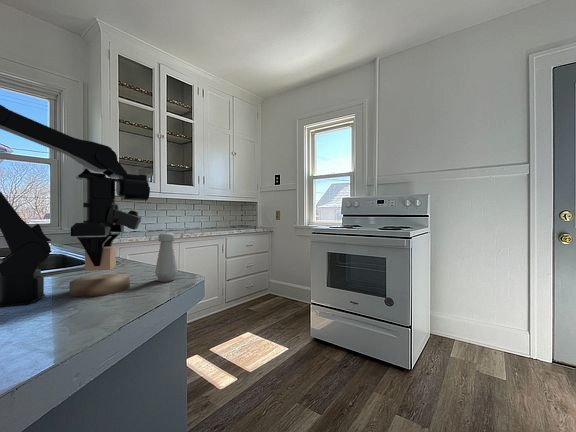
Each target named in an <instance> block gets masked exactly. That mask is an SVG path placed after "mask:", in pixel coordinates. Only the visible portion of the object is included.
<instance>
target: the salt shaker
mask: <svg viewBox="0 0 576 432" xmlns="http://www.w3.org/2000/svg"><path fill="white" fill-rule="evenodd" d="M157 239H158V240H157V241H158V242H160V243H159V250H158V255H157V260H156V266H155V271H154V273H155V276H156V278H157V280H158V281H159V282H172V280H173V281H174V280H175V279H176V276H177V274H178V273H179V270H178V266H177V265H178V264H177V259H176V253H175V248H174V247H175V246H174V241H176V236H175V234H174V233H173V232H162V233H159V234H158V237H157Z"/></svg>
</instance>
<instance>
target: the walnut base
mask: <svg viewBox="0 0 576 432" xmlns="http://www.w3.org/2000/svg"><path fill="white" fill-rule="evenodd" d="M130 279H131V276H130V275H129V274H124V273H123V274H122V273H110V274H109V273H108V274H98V275H90V276H84V277H83V276H82V277H80V278H79V277H78V278H76V279H73V280H70V281H69V295H70V296H73V297H84V298H85V297H97V296H107V295H111V294H115V293H121V292H123V291H126V290H128V289H130V288H131V287H130V286H131V284H130V283H131V280H130Z"/></svg>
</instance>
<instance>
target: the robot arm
mask: <svg viewBox="0 0 576 432" xmlns="http://www.w3.org/2000/svg"><path fill="white" fill-rule="evenodd" d="M0 130H2V131H5V132H8V133H10V134H13V135H15V136H18V137H20V138H23V139H25V140H28V141H30V142H33V143H36V144H38V145H41V146H43V147H45V148H48V149H51V150H54V151H55V152H58V153H60V154H61V153H62V154H64V155H66V156H67V157H68V158H71V159H72V160H74V161H75V162H77V163H78V164H80V165H81V166H83V167H85V168H84V169H83V170H82V172H81V173H79V174H78V175H76V176H75V178H76V179H77V180H85V181H86V202H83V203H82V205H83V208H85V209H86V210H85V211H86V213H85V214H86V216H85V217H86V218H85V219H86V220H83V221H82V222H76V223H74V224H73V225H71V226H70V237H77V240H79V242H80V244H81V246H82V247H83V249H84V251H85V250H86V252H87V254H88V256H89V257H90V259H91V261H92V263H93V265H94V266H100V264H101V259H102V254H103V248H104V247H113V242H114V240H116V239H117V238H118V237H119V236H121V233H124V232H125V227H127V229H131V230H137V229H138V227H139V225H140V223H141V220H142V217H141V216H139V211H137V210H132V209H131V210H130V211H128V212H126V211H122V210H119V205H118V204H117V203H116V195H117V197H120V199H121V200H122V201H139V202H140V201H141V202H147V201H148V200H149V197H150V194H151V187H150V184H149V180H148V179H147V177H148V176H147V174H132V173H127V170H126V169H124V167H123V166H122V165H121V163H120V162H119V160H118V155H117V153H116V152H115V150H114V149H113V148H112V147H110V146H108V145H105V144H103V143H102V144H101V143H98V142H95V141H90V140H84V139H80V138H76V137H72V136H70V135H69V134H66V133H64V132H62V131H59V130H56V129H54V128H52V127H50V126H48V125H46V124H43V123H41V122H38V121H36V120H34V119H32V118H29V117H26V116H24V115H22V114H20V113H18V112H15V111H13V110H10V109H8V108H7V107H5V106H4V105H2V104H0ZM91 171H93V172H91ZM0 231H1V233H2V236H3V238H4V240H5V242H6V244H7V246H8V248H9V250H10V253H8V254H7V255H5V256H4V257H3V258H2V259H0V307H9V306H10V307H11V306H21V305H30V304H32V303H34V302H36V301H38V300H41V298H44V297H45V296H46V294H45V292H44V291H45V284H44V283H45V280H44V279H45V277H44V276H43V275H42V269H40V268H39V269H37V268H38V265H39V264H42V262H44V261H46V260H47V258H48V257H50V254H51V250H52V249H51V246H50V244H49V242H51V241H52V239H50V237H48V236H46V235H45V233H44V231H43V229H42V227H41V225H40V224H39V223H35V224H34V225H32V226H30V225H29V224H28V223H27V222H26V221H24V220H23V219H22V217H21V216H20V215H19V214H18V212H17V211H16V209H15V208H14V207H13V206H12V204H10V201H9V200H8V199H7V198H6V196H5V195H4V194H3V193H2V192H1V190H0Z"/></svg>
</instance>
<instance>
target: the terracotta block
mask: <svg viewBox="0 0 576 432" xmlns="http://www.w3.org/2000/svg"><path fill="white" fill-rule="evenodd" d="M116 249H117V248H116V246H111V247H104V248H103V254H102V259H101V264H100V266H94V265H93V263H92V261H91V259H90V257H89V256H88V254H87V252H86V250H85V249H84V271H85V272H94V271H95V272H96V271H109V270H110V271H111V270H112V269H114V268H115V267H117V266H116V265H117V264H116V261H117V260H116V257H117V255H116V252H117V251H116Z"/></svg>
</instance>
